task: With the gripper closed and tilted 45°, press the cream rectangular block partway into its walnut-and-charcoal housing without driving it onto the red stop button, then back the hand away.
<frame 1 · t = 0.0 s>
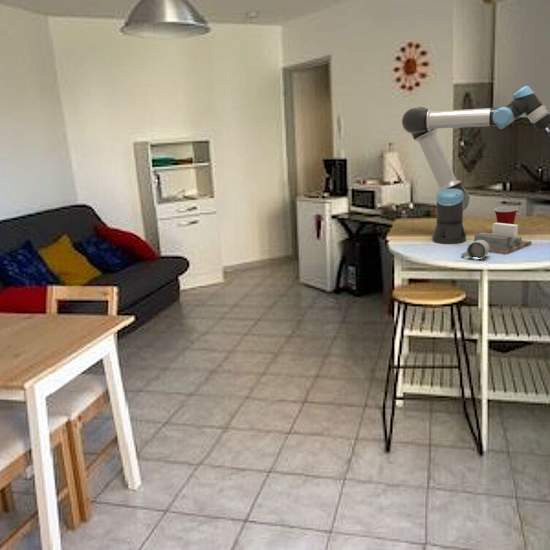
plastic cup: (504, 232, 276), on the kitchen island
key housing: (501, 247, 249), on the kitchen island
cream rectangular block: (504, 233, 249), point 6 cm above the kitchen island, slide at 0.0 cm
ceramic mug: (474, 258, 235), on the kitchen island
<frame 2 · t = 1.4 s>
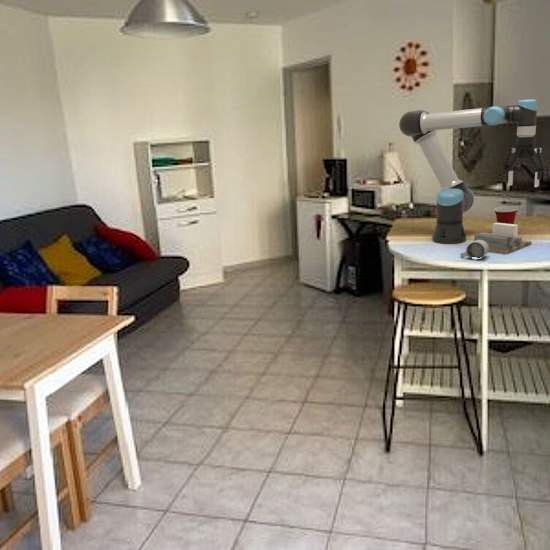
hand: (523, 186, 255), 24 cm above the kitchen island, tool pointing down, fingers open, 11 cm apart
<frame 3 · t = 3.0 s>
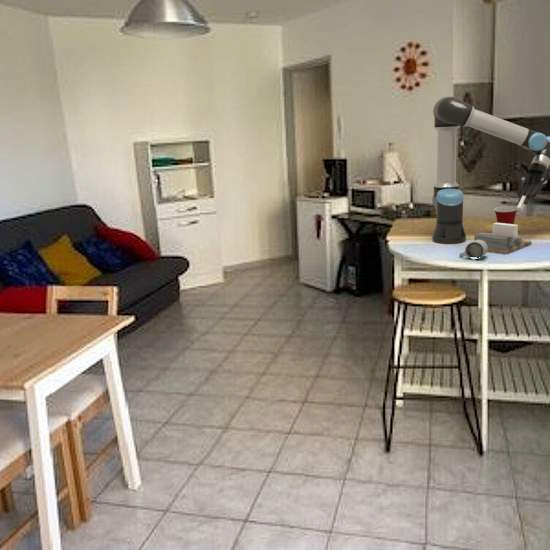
hand: (519, 209, 254), 14 cm above the kitchen island, tool tilted 45°, fingers closed
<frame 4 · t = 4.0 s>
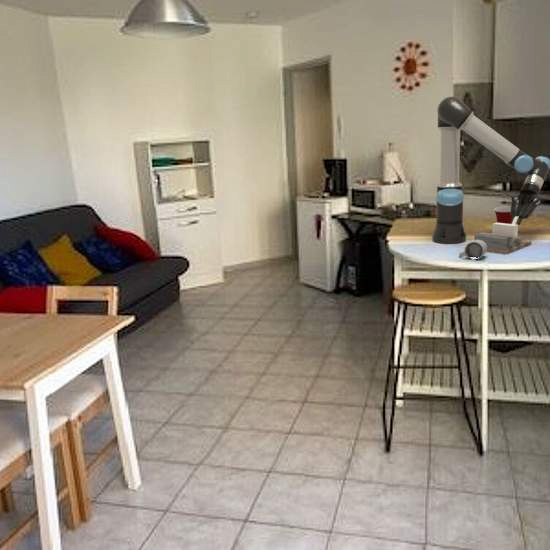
hand: (512, 229, 252), 6 cm above the kitchen island, tool tilted 45°, fingers closed
nothing on the kitchen island moved.
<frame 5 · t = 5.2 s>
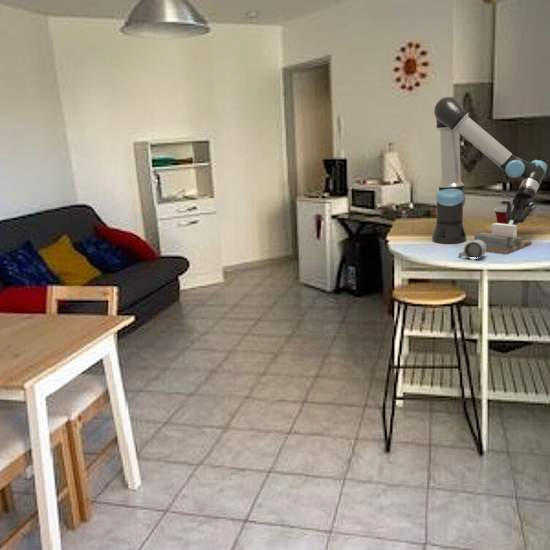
hand: (507, 234, 250), 5 cm above the kitchen island, tool tilted 45°, fingers closed
cream rectangular block: (504, 233, 248), point 6 cm above the kitchen island, slide at 0.7 cm, touching gripper
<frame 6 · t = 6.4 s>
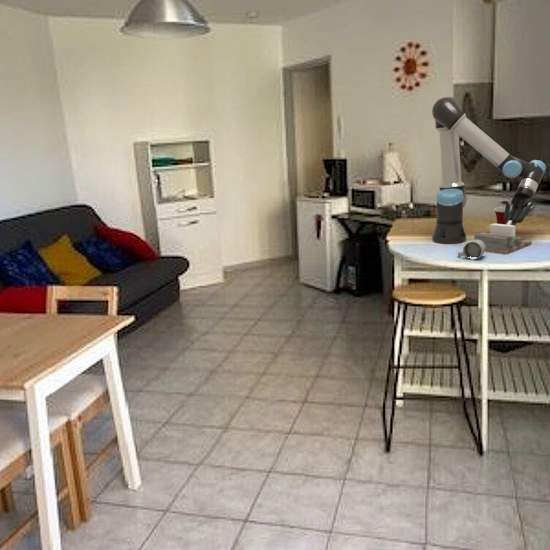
hand: (505, 234, 250), 5 cm above the kitchen island, tool tilted 45°, fingers closed
cream rectangular block: (502, 234, 248), point 6 cm above the kitchen island, slide at 2.1 cm
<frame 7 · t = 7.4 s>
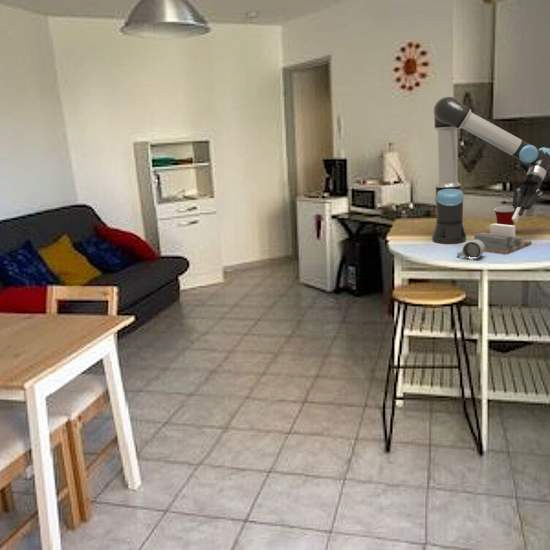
hand: (514, 220, 252), 10 cm above the kitchen island, tool tilted 45°, fingers closed
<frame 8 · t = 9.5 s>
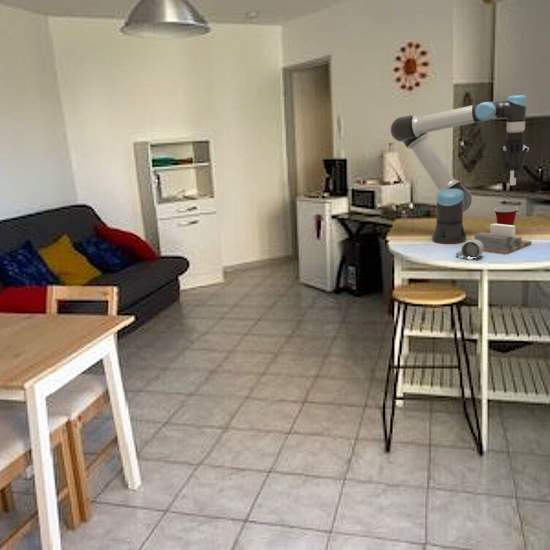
hand: (512, 184, 259), 24 cm above the kitchen island, tool pointing down, fingers closed
at the end: cream rectangular block slide at 2.1 cm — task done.
